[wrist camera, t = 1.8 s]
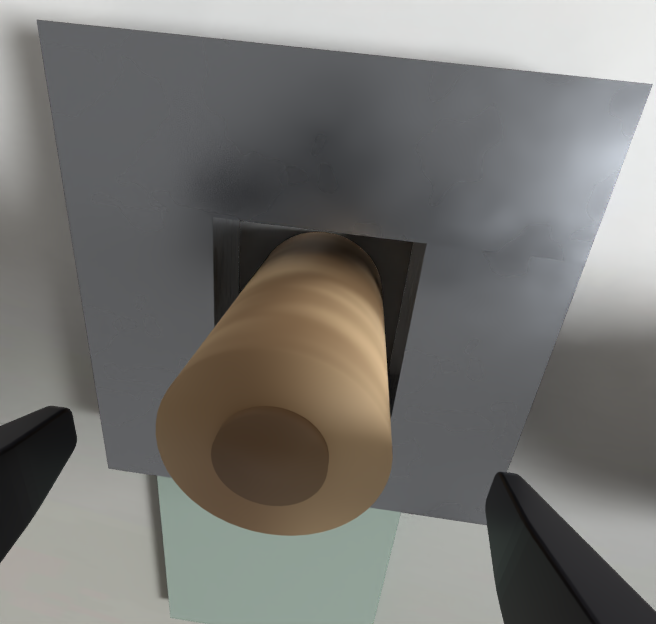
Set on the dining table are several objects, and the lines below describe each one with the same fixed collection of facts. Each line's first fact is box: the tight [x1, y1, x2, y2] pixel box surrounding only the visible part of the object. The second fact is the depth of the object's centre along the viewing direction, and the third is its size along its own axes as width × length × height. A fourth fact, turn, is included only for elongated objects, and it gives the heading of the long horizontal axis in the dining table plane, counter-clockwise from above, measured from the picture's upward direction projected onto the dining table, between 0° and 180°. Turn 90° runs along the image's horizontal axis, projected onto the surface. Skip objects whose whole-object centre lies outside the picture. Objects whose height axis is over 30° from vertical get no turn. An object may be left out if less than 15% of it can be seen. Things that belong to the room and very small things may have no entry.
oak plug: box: [156, 232, 393, 536], centre depth 13 cm, size 5×5×9 cm
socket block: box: [37, 20, 653, 525], centre depth 16 cm, size 16×16×3 cm
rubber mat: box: [157, 476, 401, 624], centre depth 23 cm, size 12×12×1 cm
